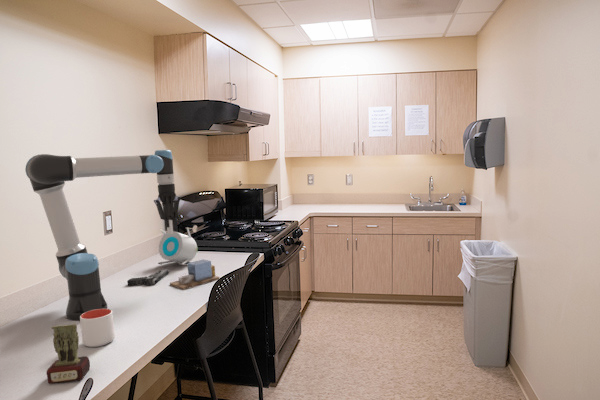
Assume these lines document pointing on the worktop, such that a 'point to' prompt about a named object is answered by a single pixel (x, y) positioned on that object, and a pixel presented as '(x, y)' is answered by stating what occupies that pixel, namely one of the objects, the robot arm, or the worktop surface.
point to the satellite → (178, 247)
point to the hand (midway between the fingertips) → (170, 233)
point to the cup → (97, 327)
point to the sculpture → (67, 356)
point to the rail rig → (193, 280)
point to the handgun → (148, 279)
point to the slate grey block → (200, 269)
